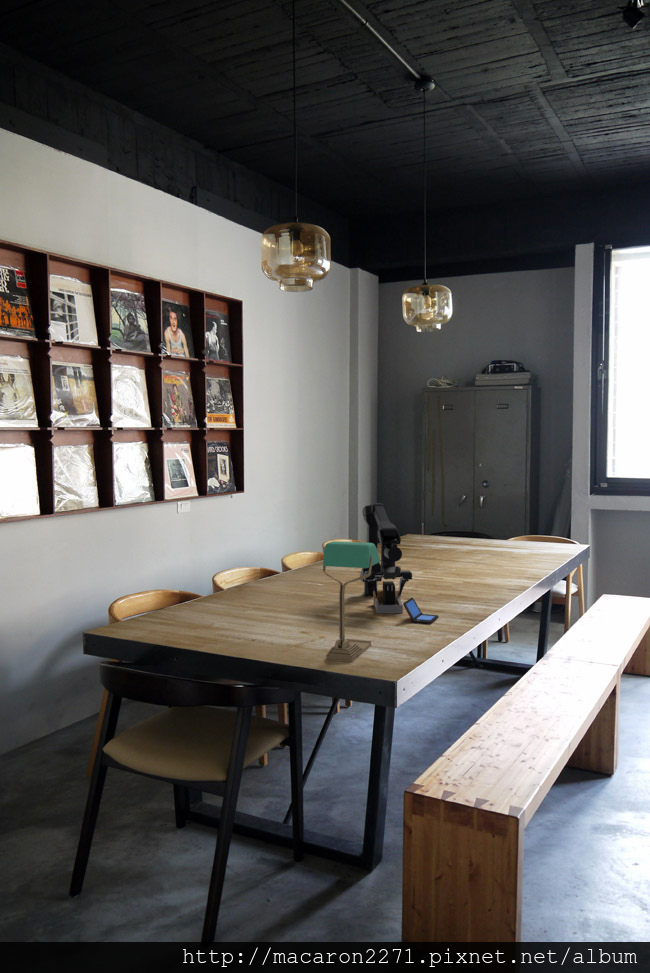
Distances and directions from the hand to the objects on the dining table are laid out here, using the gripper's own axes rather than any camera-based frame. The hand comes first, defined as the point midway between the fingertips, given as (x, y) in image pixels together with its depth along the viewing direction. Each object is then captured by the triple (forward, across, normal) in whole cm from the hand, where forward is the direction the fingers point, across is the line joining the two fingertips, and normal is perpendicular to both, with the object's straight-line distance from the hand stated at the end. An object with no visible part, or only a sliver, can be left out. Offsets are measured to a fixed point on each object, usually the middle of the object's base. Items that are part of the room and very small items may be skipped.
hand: (388, 596), depth 303 cm
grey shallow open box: (+5, 0, 0) cm, 5 cm away
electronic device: (+5, 0, 0) cm, 5 cm away
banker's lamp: (+5, -18, -62) cm, 65 cm away
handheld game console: (+6, +10, -19) cm, 22 cm away
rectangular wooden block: (+5, 0, +7) cm, 9 cm away
